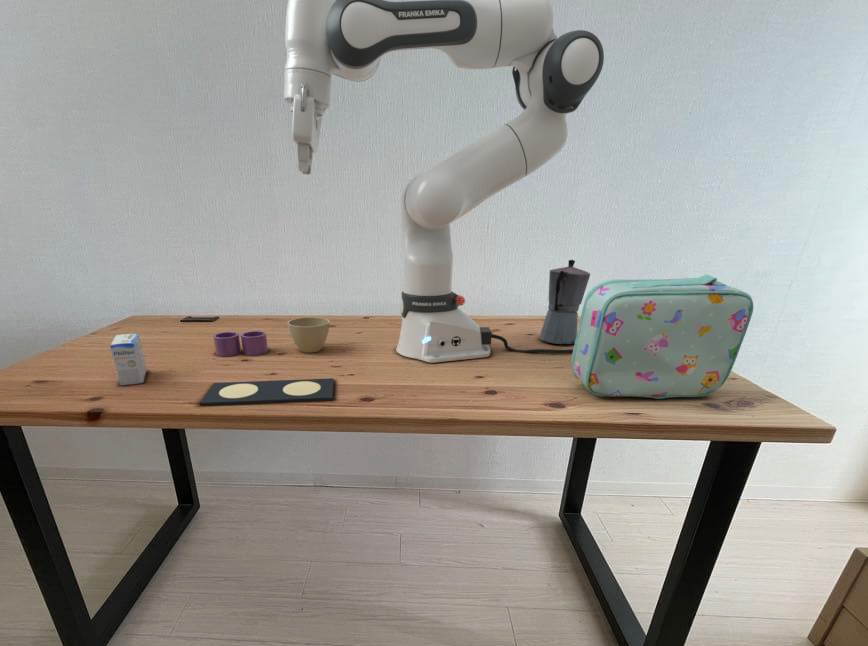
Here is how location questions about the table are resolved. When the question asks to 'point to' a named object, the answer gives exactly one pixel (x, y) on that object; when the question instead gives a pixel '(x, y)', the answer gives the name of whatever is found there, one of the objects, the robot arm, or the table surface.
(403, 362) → the table surface
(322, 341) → the flower pot
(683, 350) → the lunch box
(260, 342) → the purple cup
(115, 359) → the medicine box
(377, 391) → the table surface
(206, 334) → the table surface
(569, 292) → the moka pot
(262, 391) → the mat
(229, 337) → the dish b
